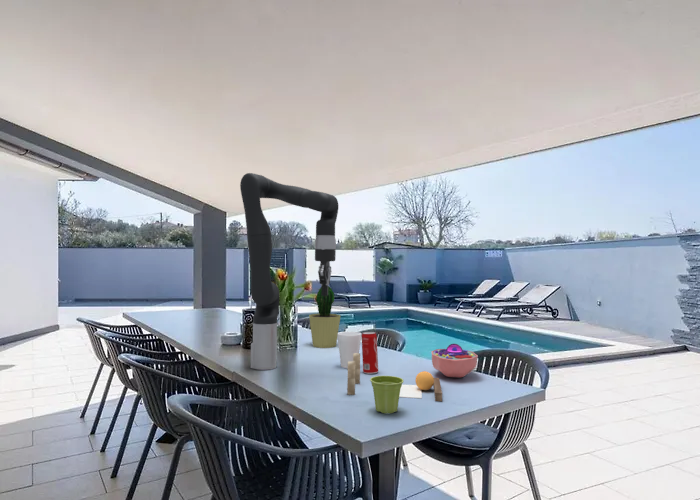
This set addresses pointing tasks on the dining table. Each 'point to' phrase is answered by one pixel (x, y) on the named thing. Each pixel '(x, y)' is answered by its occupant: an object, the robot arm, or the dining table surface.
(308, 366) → the dining table surface
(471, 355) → the cell model
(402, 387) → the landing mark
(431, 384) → the ball
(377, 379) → the plant pot
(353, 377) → the post
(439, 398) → the wall
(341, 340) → the foam cup
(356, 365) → the post
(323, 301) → the potted cactus
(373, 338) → the beverage can
